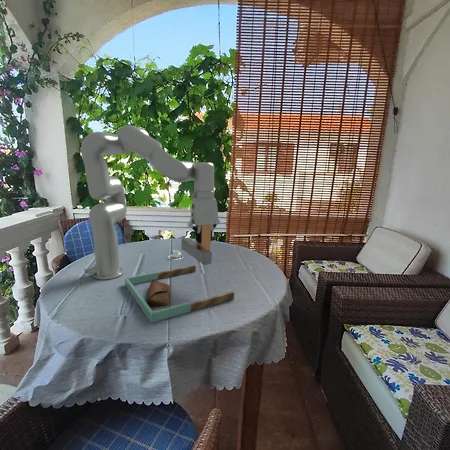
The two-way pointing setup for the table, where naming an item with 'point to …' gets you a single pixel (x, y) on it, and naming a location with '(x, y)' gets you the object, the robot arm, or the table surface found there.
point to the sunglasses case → (158, 294)
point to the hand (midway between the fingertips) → (204, 240)
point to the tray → (147, 310)
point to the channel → (199, 303)
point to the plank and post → (200, 246)
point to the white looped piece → (175, 254)
